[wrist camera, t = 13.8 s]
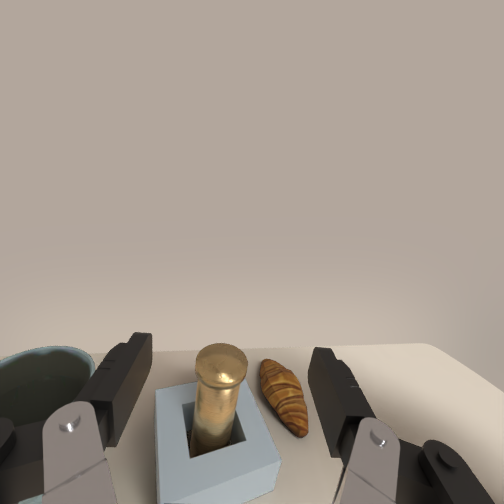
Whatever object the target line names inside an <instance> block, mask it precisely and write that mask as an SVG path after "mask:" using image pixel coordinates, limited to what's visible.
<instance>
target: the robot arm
mask: <svg viewBox="0 0 504 504" xmlns="http://www.w3.org/2000/svg"><path fill="white" fill-rule="evenodd" d="M151 365H152V334H151V333H140V332H135V333H133V335H132V336H131V338H130V339H129V341H128V342H127V343H119V344H118V345H116V346H115V347H114V348H112V349H111V350H110V351H109V352H108V354H107V355H106V356H105V358H104V359H103V362H101V363H100V365H99V366H98V368H97V370H95V372H94V373H93V375H92V376H91V377H90V379H89V380H88V382H87V383H86V384H85V386H84V387H83V389H82V390H81V391H80V393H79V394H78V396H77V397H76V398H75V400H74V401H73V402H72V403H70V404H67V405H65V406H63V407H61V408H59V409H58V410H57V411H55V412H54V413H53V414H52V415H51V416H50V417H49V418H48V419H46V420H43V421H40V422H35V423H31V424H26V425H22V426H18V427H14V426H13V422H12V421H11V420H10V419H8V418H3V417H0V504H18V503H19V502H20V501H23V500H26V499H29V498H32V497H35V496H39V495H42V494H43V495H42V504H117V501H116V496H115V492H114V488H113V483H112V479H111V475H110V470H109V466H108V462H107V459H105V456H104V450H105V448H106V447H116V446H117V444H118V441H119V439H120V437H121V435H122V432H123V430H124V428H125V426H126V424H127V421H128V419H129V417H130V415H131V412H132V410H133V408H134V406H135V403H136V401H137V399H138V397H139V395H140V392H141V390H142V388H143V386H144V383H145V381H146V379H147V377H148V374H149V372H150V369H151ZM308 383H309V387H310V390H311V393H312V397H313V400H314V403H315V406H316V410H317V413H318V416H319V419H320V422H321V426H322V429H323V432H324V435H325V439H326V442H327V445H328V448H329V452H330V455H331V457H334V458H341V459H342V462H343V465H344V466H343V468H342V471H341V474H340V478H339V481H338V485H337V488H336V491H335V495H334V498H333V501H332V504H495V503H494V502H493V500H492V499H491V497H490V496H489V495H488V493H487V492H486V490H485V489H484V488H483V486H482V485H481V483H480V482H479V481H478V479H477V478H476V476H475V475H474V474H473V472H472V471H471V469H470V468H469V466H468V465H467V464H466V462H465V461H464V460H463V459H462V457H461V456H460V455H459V454H458V453H457V452H455V451H454V450H453V449H452V448H450V447H449V446H447V445H445V444H444V443H442V442H439V441H436V440H428V441H426V442H425V443H424V445H423V447H419V446H416V445H414V444H411V443H408V442H406V441H403V440H401V439H398V438H397V436H396V435H395V433H394V432H393V431H392V429H391V428H390V427H389V426H387V425H386V424H385V423H383V422H382V421H380V420H378V419H377V418H376V416H375V415H374V413H373V411H372V409H371V407H370V405H369V403H368V402H367V400H366V398H365V396H364V394H363V392H362V390H361V388H359V385H358V383H357V381H356V380H355V377H354V375H353V374H352V372H351V370H350V368H349V367H348V366H347V365H346V364H345V363H344V362H343V361H342V360H337V359H336V357H335V355H334V353H333V351H332V349H331V348H321V347H315V348H314V351H313V354H312V358H311V362H310V366H309V369H308ZM164 504H168V503H164Z"/></svg>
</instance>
